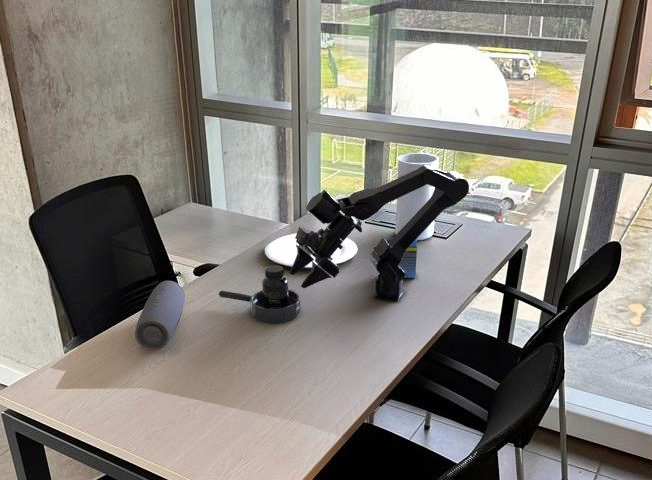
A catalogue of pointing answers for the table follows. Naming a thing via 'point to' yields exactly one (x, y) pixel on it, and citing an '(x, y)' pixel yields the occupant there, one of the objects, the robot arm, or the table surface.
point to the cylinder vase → (416, 198)
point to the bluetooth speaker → (160, 315)
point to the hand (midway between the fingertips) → (296, 280)
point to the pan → (275, 314)
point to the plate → (286, 254)
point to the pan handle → (235, 296)
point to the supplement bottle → (275, 288)
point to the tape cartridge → (409, 260)
